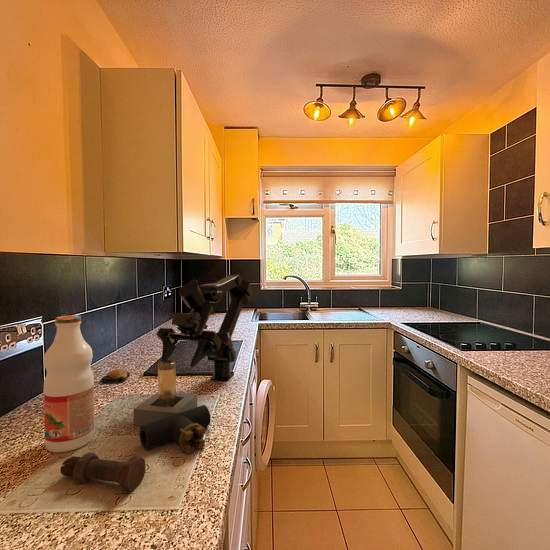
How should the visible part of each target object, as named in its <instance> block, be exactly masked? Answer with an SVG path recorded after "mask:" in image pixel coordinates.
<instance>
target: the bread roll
mask: <svg viewBox="0 0 550 550" xmlns="http://www.w3.org/2000/svg"><path fill="white" fill-rule="evenodd" d="M130 376H131V373H130V372H129V371H126V370H125V369H123V368H115V369H112V370H110V371H109V372H107V373H106V375H104V376H103V377H101V378H100V381H101V384H102V385H118V384H119V385H120V384H124V383H125V382H126V381H127V380H128V379H129V377H130Z"/></svg>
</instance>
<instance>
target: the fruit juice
mask: <svg viewBox="0 0 550 550" xmlns="http://www.w3.org/2000/svg"><path fill="white" fill-rule="evenodd" d="M81 324H82V316H81V315H76V314H75V315H74V314H73V315H72V314H71V315H62V316H57V317H55V318H54V325H55V326H56V333H55V336H54V339H53V342H52V344H51V345H50V346H49V347H48V349H47V350H46V352H45V353H44V357H43V365H44V368H45V370H46V376H45V377H44V381H43V417H44V418H43V420H44V422H43V426H44V427H43V428H44V430H43V431H44V446H45V449H46V450H47V452H51V453H66V452H71V451H74V450H77V449H80V448H82V447H85V445H87V444H88V443H90V442H91V441H92V440H93V439H94V437H95V434H96V433H95V430H96V428H95V427H96V425H95V424H96V423H95V378H94V372H93V369H92V367H91V366H92V365H91V364H92V362H93V361H92V360H93V356H94V355H93V349H92V346H90V344H89V343H88V342H86V340H85V339H84V337H83V335H82V331H81Z"/></svg>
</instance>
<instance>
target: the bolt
mask: <svg viewBox="0 0 550 550" xmlns="http://www.w3.org/2000/svg"><path fill="white" fill-rule="evenodd" d="M145 473H146V460H145V459H144V457H143V456H141V455H140V454H133V455H132V456H131V457H129V459H127V460H124V461H118V460H112V459H111V460H110V459H100V457H99V455H98V454H96V453H95V452H87V453H84V454H83V455H82V456H74V455H73V456H70V457H69V458H65V460H63V462H62V464H61V466H60V474H61V475H62V476H63V477H64V476H65V477H70V478H71V477H72V478H73V479H74V481H75V482H76V483H78V484H84V485H86V484H87V483H88V482H90V481H92V480H94V481H101V482H102V481H104V482H109V483H110V482H111V483H117V484H118V485H119V487H120V488H121V490H123V492H124V493H130V494H131V493H132V492H134V491H136V490H137V488H138V487H139V486H140V485H141V483H142V481H143V480H144V477H145V475H146V474H145Z"/></svg>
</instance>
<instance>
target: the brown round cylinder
mask: <svg viewBox="0 0 550 550" xmlns="http://www.w3.org/2000/svg"><path fill="white" fill-rule="evenodd" d="M176 365H177V363H176V360H167V361H162V362H161V361H160V362H157V392H158V406H161V407H173V406H175V405H176V392H177V366H176Z"/></svg>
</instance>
